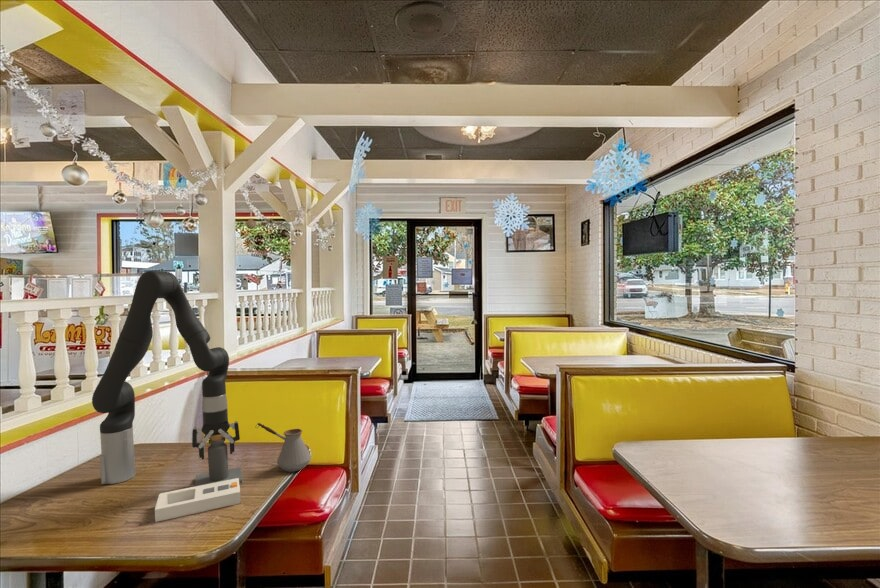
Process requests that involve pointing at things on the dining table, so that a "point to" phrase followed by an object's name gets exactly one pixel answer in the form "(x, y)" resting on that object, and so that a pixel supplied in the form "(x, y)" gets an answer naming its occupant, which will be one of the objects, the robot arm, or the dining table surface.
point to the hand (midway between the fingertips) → (217, 455)
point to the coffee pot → (291, 450)
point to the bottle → (217, 458)
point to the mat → (233, 474)
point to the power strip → (197, 499)
